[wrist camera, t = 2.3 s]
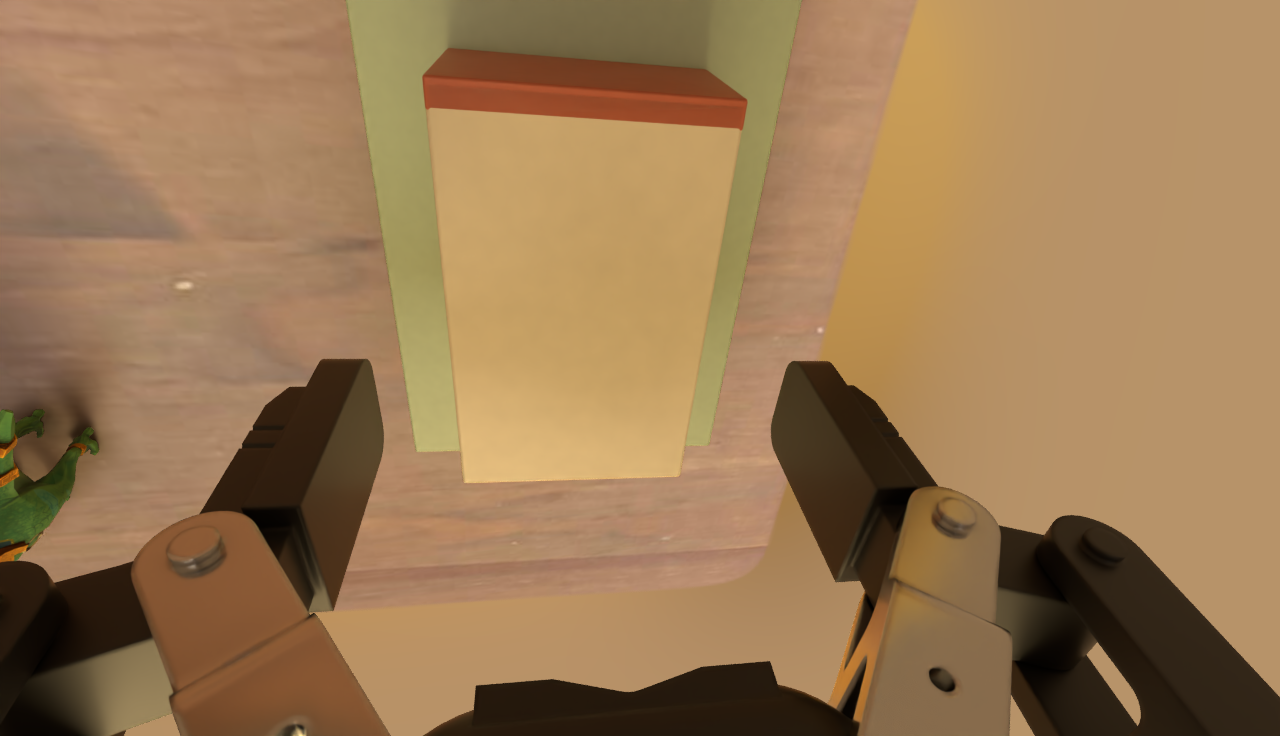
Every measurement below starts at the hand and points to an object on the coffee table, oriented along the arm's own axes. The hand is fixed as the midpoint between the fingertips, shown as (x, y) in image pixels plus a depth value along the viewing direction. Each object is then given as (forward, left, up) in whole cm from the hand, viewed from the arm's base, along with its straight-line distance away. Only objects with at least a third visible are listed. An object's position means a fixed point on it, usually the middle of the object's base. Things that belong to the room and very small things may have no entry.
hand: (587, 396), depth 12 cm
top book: (0, 0, -6) cm, 6 cm away
